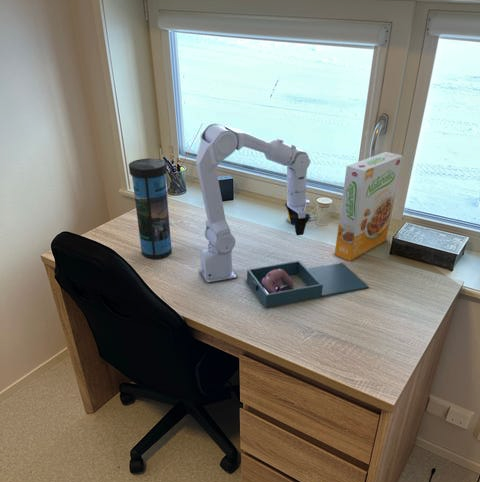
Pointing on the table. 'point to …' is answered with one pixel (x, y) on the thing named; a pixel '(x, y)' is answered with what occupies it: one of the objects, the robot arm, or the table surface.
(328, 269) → the box
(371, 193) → the cereal box
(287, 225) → the table surface
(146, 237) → the advertising column
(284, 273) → the video game controller
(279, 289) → the silver plate
